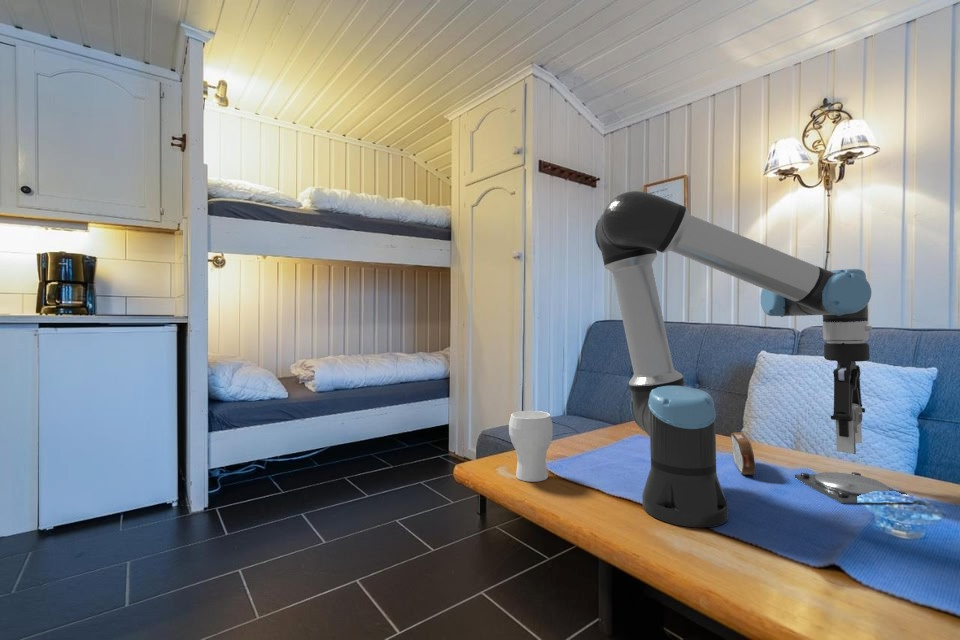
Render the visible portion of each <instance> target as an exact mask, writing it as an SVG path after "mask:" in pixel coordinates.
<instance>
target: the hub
mask: <svg viewBox="0 0 960 640" xmlns="http://www.w3.org/2000/svg"><path fill="white" fill-rule="evenodd" d="M795 478H797V479H798V480H800V481H802V482H803V483H802V482H801V483H802V484H804V483H805V484H804V485H806V486H807V485H808V486H807V487H809V486H810V487H809V488H811V487H812V489H813V488H814V489H813V490H815V489H816V490H815V491H817V492H819V493H820V494H823V495H825V494H826V495H827V497H828V496H829V498H830V497H831V499H832V498H833V499H832V500H834V499H835V501H836V500H837V501H836V502H837V503H840V504H842V503H852V504H858V503H857V496H859V495H861V494H866V493H869V492H872V491H888V490H889V491H896V492H899V493H901V494H906V495H908V494H907V492H906V491H903V490H897V489H894V488H891V487H890V486H888V485H887V484H885V483H883V482H882V481H879V480H877V479H874V478H870V477H868V476H863V475H862V473H860V472H857V471H856V472H855V471H854V472H851V473H846V472H837V471H836V472H832V471H827V472H824V471H823V472H819V473H817V474H816V473H815V474H813V473H812V474H809V473H807V472H801V473H800V474H794V479H795ZM798 480H797V481H798ZM800 481H799V482H800ZM826 495H825V496H826Z"/></svg>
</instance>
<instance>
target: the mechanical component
mask: <svg viewBox="0 0 960 640" xmlns="http://www.w3.org/2000/svg"><path fill="white" fill-rule="evenodd" d="M862 408H863V407H862ZM862 408H861V406H859V405H858V404H852V420H851V421H853V432H854V454H853V455H856V454H857V452H856V451H857V450H856V443H855V433H858V431H857V425H858V424H860V423H861V424H862V422H863V412H862ZM840 413H842V412H840Z"/></svg>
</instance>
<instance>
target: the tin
mask: <svg viewBox="0 0 960 640" xmlns="http://www.w3.org/2000/svg"><path fill="white" fill-rule="evenodd" d="M730 440H731V447H732V450H731V451H732V452H731V453H732V457H733V461H734V462H733V463H734V464H735V463H736V464H735V466H736V465H737V466H736V467H738V468H737V470H738V471H739V470H740V471H739V473H740V472H741V473H740V475H742V474H743V475H744V476H752V477H753V476H755V475H756V461H755V456H754V450H753V446H752V443H751V441H750V439H749V438H748V437H747V436H746V434H745V433H744V432H743V431H741V432H740V431H739V432H738V431H737V432H732V433H730Z"/></svg>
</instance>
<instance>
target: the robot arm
mask: <svg viewBox="0 0 960 640" xmlns="http://www.w3.org/2000/svg"><path fill="white" fill-rule="evenodd" d="M598 218H599V219H598V220H597V223H596V226H595V229H594V239H595V240H594V241H595V243H596V245H597V248H598V249H599V250H600V253H601V256H602V261H603V266H604V268H605V269H606V270H609V272H611V273H612V275H613V281H614V285H615V289H616V290H615V291H616V294H617V298H618V299H617V300H618V305H619V308H620V310H619V311H620V313H621V318H622V323H623V328H624V333H625V337H626V342H627V348H628V352H629V357H630V363H631V366H632V367H631V368H632V372H633V375H632V377H631V378H630V380H629V381H628V386H629V391H630V396H631V398H630V412H631V416H632V418H633V420H634V422H635V423H636V425H637V426H638V428H640V429H641V430H642V432H644V433H646V435H648V436H649V440H650V441H649V442H650V445H649V446H650V469H649V473H648V476H647V480H646V481H645V484H644V488H643V492H642V500H641V501H642V508H643V510H644V511H645V512H646V513H647V514H648V515H650V516H652V517H653V518H655V519H657V520H660V521H663V522H665V523H669V524H673V525H676V526H681V527H688V528H711V527H713V528H714V527H718V526H721V525H723V524H725V523H726V522H727V521H728V519H729V507H728V506H729V505H728V502H727V500H726V497H725V494H724V491H723V489H722V486H721V483H720V481H719V478H718V475H717V474H718V473H717V445H716V444H717V443H716V442H717V434H716V418H717V412H716V408H715V400H714V398H713V396H711V395H710V393H708V392H707V391H705V390H702V389H699V388H693V387H692V386H691V387H690V386H686V383H685V381H684V376H683V374H682V373H680V372H679V371H677V370H676V369H675V367H674V363H673V359H672V353H671V350H670V345H669V340H668V336H667V331H666V330H667V329H666V324H665V319H664V317H663V312H662V306H661V303H660V302H661V301H660V297H659V291H658V287H657V284H656V283H657V282H656V278H655V273H654V269H653V264H654V263H653V262H654V261H655V260H656V258H657V257H658V253H657V252H660V253H662V254H664V253H667V252H673V253H675V254H678V255H681V256H683V257H685V258H686V259H687V258H688V259H690V260H692V261H695V262H698V263H699V264H702V265H705V266H707V267H709V268H712V269H714V270H716V271H720V272H721V273H724V274H727V275H729V276H732V277H733V278H737V279H739V280H742V281H744V282H745V283H749V284H752V285H753V286H755V287H758V288H760V289H761V292H760V306H761V309H762V311H763V313H765V314H766V315H767V316H770V317H781V318H783V317H798V316H799V317H800V316H805V317H806V316H822V337H823V338H822V339H823V340H824V341H826V342H825V343H824V344H823V357H824V360H827V361H831V362H837V366H836V368H835V369H833V371H832V373H833V414H832V415H830V420H831V421H832V420H833V421H834V420H835V437H836V438H835V439H836V451H837V452H841V453H846V454H853V455H855V454H854V432H853V421H851V420H852V404H858V405H859V406H861V408H862V414H864V413H866V408H865V407H863V404H862V393H861V392H862V391H861V379H860V377H861V368H860V365H858V364H857V363H858V362H867V361H869V360H870V358H871V356H870V355H871V354H870V344H869V343H867V342H866V341H868V340H869V339H870V337H869V332H871V331H872V330H873V327H872V325H871V326H870V325H869V322H868V321H869V302H870V301H871V297H872V288H871V284H870V282H869V281H868V280H867V279H868V278H867V274H866V272H865V271H864V270H862V269H860V268H847V269H835V270H828V269H825V268H823V267H821V266H818V265H814V264H812V263H811V262H807V261H805V260H803V259H800V258H797V257H795V256H792V255H790V254H787V253H786V252H783V251H780V250H778V249H776V248H774V247H770V246H767V245H765V244H763V243H761V242H759V241H755V240H753V239H751V238H749V237H746V236H744V235H741V234H738V233H736V232H733V231H731V230H729V229H727V228H723V227H721V226H720V225H719V226H718V225H716V224H713V223H711V222H708V221H706V220H704V219H702V218H699V217H697V216H694V215H691V214H690V212H689V209H688V207H687V206H684V205H682V204H680V203H677V202H675V201H673V200H669V199H667V198H665V197H662V196H659V195H656V194H653V193H650V192H645V191H640V190H631V191H626V192H623V193H621V194H619V195H617V196H616V197H614V198H613V199H612V200H610V202H609V203H608V204H607V206H606V208H605V210H604V211H603V213H602V214H601V215H600V217H598ZM840 412H842V413H840ZM857 431H858V433H855V444H857V443H858V444H863V434H862V422H861V423H860V424H858V425H857Z"/></svg>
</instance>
